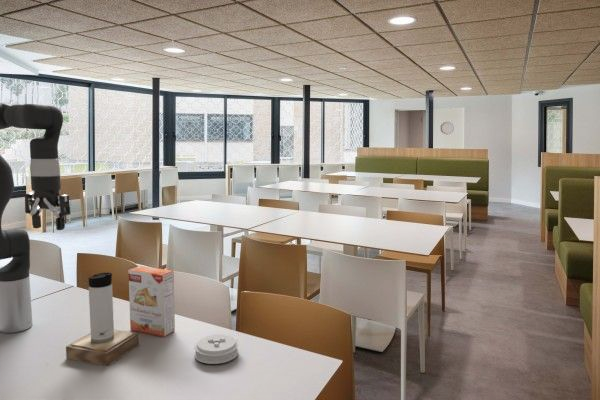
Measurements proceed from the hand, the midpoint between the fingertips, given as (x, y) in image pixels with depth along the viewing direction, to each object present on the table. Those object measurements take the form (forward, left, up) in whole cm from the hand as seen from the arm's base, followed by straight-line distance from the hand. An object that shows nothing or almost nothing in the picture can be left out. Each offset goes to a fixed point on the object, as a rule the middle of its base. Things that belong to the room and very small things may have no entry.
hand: (48, 228), depth 132 cm
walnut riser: (+17, +1, -36) cm, 40 cm away
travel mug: (+17, +1, -32) cm, 37 cm away
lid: (+50, +9, -37) cm, 63 cm away
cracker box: (+22, +18, -36) cm, 46 cm away
